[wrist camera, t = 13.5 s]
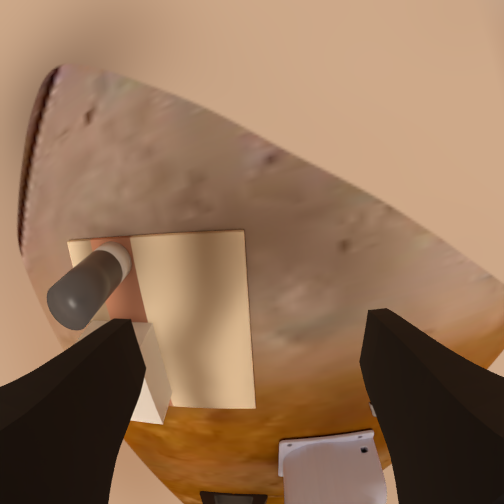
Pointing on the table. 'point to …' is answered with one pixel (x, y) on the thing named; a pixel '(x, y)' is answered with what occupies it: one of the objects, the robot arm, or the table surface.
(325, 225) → the table surface
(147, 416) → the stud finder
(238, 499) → the phone stand
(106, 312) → the panel
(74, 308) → the grey capped cylinder
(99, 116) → the table surface
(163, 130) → the table surface
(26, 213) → the table surface
